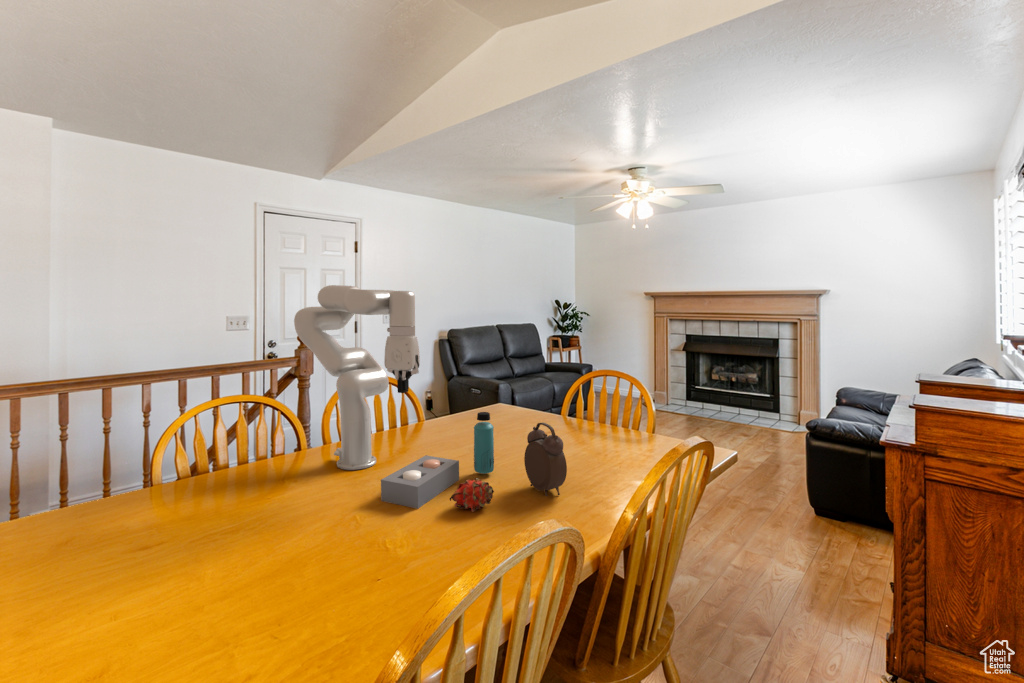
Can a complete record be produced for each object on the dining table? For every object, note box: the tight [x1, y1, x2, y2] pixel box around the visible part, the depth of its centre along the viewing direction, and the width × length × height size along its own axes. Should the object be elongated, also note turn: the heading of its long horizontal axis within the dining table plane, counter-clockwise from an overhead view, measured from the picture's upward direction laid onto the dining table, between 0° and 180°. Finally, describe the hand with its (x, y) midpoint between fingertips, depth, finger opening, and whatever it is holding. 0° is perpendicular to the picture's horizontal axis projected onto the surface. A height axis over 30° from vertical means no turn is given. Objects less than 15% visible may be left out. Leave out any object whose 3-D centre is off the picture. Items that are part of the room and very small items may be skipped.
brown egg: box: [423, 459, 440, 469], centre depth 141 cm, size 5×5×4 cm
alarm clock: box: [523, 422, 568, 497], centre depth 136 cm, size 14×7×20 cm, turn 30°
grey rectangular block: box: [380, 455, 460, 510], centre depth 137 cm, size 12×22×6 cm, turn 157°
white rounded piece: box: [403, 470, 421, 481], centre depth 132 cm, size 5×5×4 cm
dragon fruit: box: [449, 477, 495, 513], centre depth 125 cm, size 8×8×12 cm
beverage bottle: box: [473, 411, 495, 474], centre depth 148 cm, size 6×7×20 cm
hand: (403, 392), depth 143 cm, fingers closed
